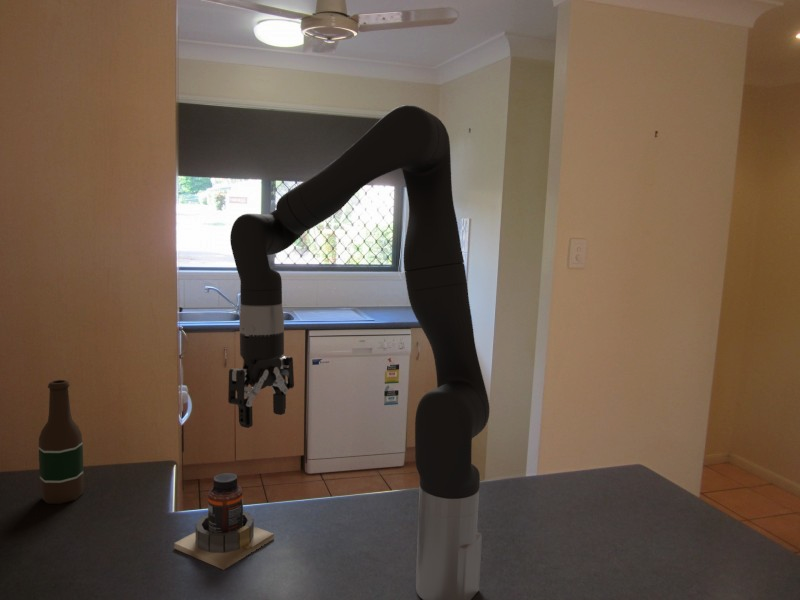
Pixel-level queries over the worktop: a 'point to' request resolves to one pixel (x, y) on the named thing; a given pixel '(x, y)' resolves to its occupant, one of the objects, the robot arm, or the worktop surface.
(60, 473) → the beer bottle
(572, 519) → the worktop surface
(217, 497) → the supplement bottle
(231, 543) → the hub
